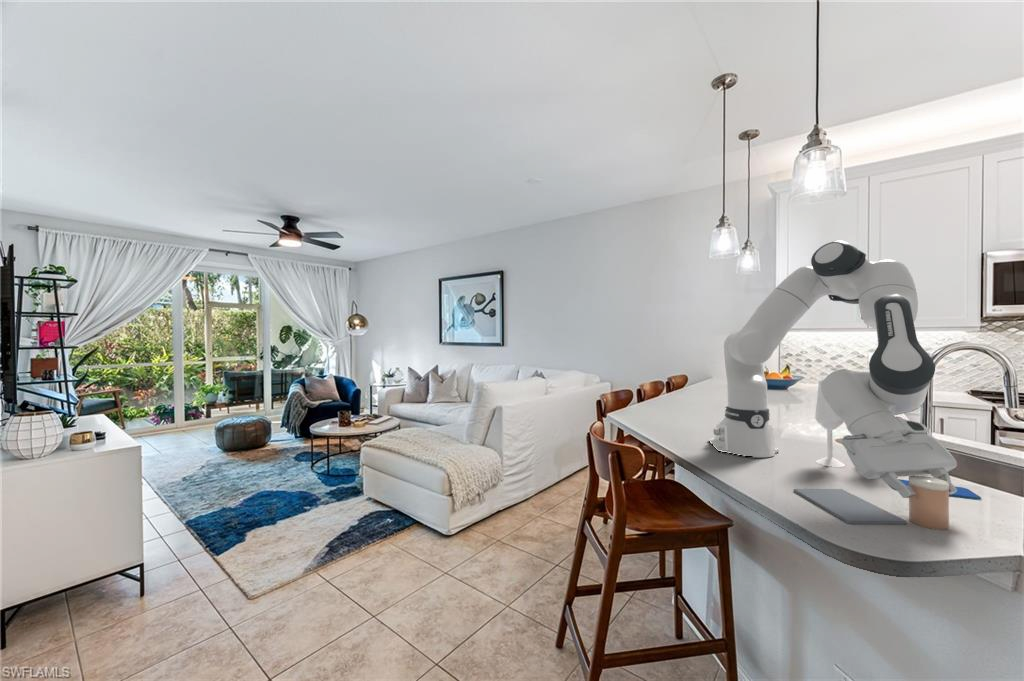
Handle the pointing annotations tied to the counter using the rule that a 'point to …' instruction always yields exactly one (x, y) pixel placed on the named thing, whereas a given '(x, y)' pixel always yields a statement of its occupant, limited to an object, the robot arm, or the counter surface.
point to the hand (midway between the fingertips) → (931, 494)
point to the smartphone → (960, 492)
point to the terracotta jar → (929, 502)
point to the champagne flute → (827, 427)
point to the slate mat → (849, 507)
